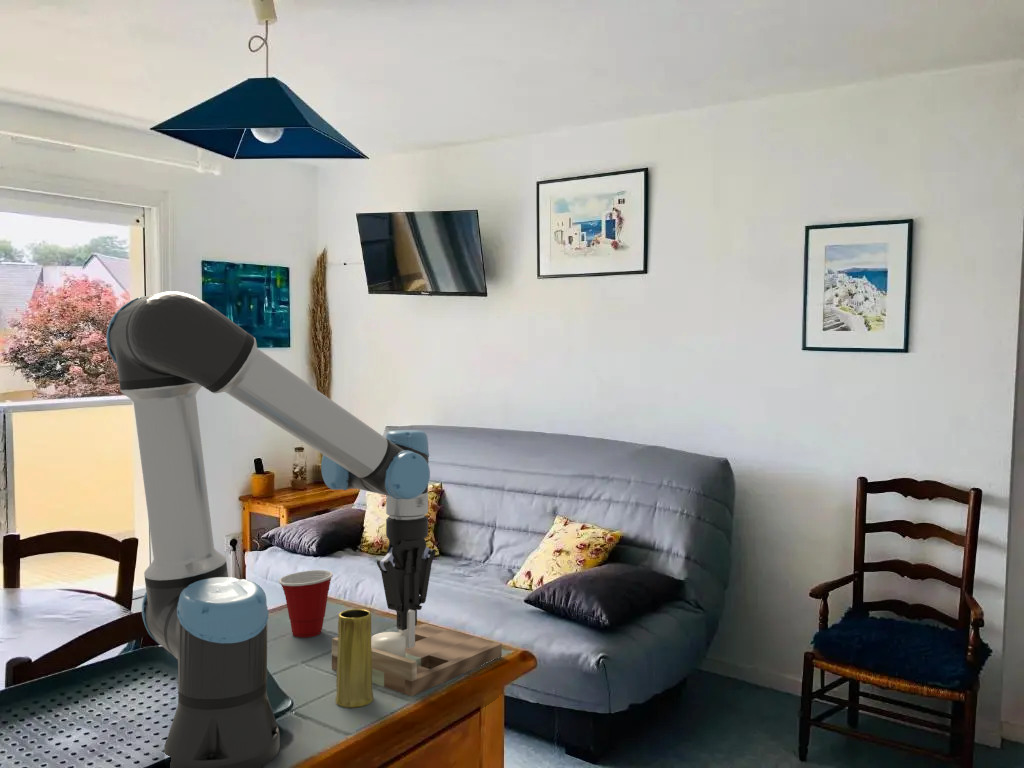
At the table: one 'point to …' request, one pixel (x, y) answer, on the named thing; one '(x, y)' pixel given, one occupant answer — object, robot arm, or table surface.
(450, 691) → the table surface
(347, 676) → the vase
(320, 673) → the table surface
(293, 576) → the plastic cup
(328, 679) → the table surface
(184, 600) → the robot arm
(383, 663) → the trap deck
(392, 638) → the white rounded block
